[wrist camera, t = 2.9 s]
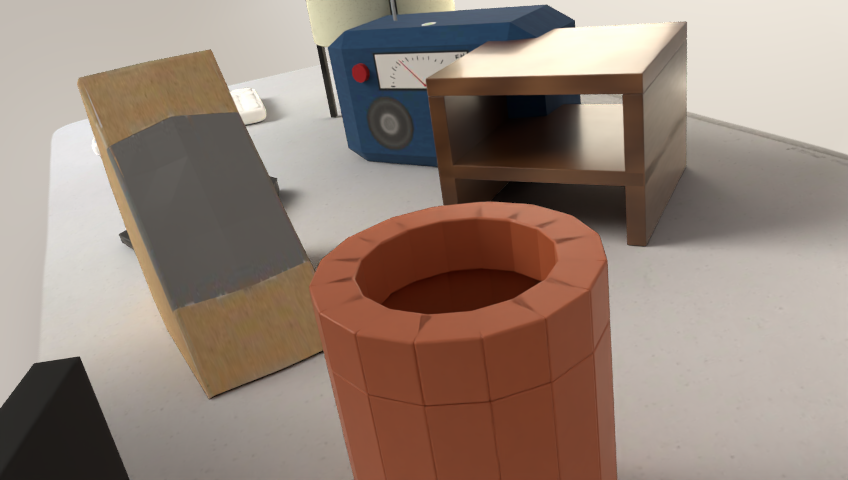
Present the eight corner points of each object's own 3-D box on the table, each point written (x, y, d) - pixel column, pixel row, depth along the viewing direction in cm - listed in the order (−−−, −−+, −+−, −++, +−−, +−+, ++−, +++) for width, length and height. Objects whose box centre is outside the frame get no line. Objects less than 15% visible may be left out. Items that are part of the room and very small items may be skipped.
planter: (357, 98, 93) (320, -105, 83) (481, 91, 87) (457, -127, 78) (302, 138, 80) (250, -95, 70) (443, 133, 75) (408, -121, 65)
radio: (342, 166, 71) (294, -59, 63) (395, 136, 77) (358, -72, 69) (544, 182, 59) (518, -92, 51) (588, 144, 66) (570, -105, 57)
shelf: (446, 230, 54) (424, 78, 49) (516, 160, 65) (504, 31, 60) (646, 246, 47) (642, 73, 43) (686, 166, 58) (687, 21, 53)
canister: (332, 608, 26) (250, 316, 21) (441, 445, 33) (398, 195, 28) (577, 699, 22) (547, 365, 17) (643, 492, 29) (636, 209, 24)
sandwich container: (204, 403, 39) (111, 123, 32) (146, 295, 51) (71, 78, 45) (353, 339, 42) (296, 76, 36) (265, 253, 55) (211, 45, 48)
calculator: (269, 120, 89) (265, 105, 88) (94, 159, 85) (88, 143, 84) (257, 98, 101) (253, 84, 100) (102, 131, 96) (97, 117, 96)
